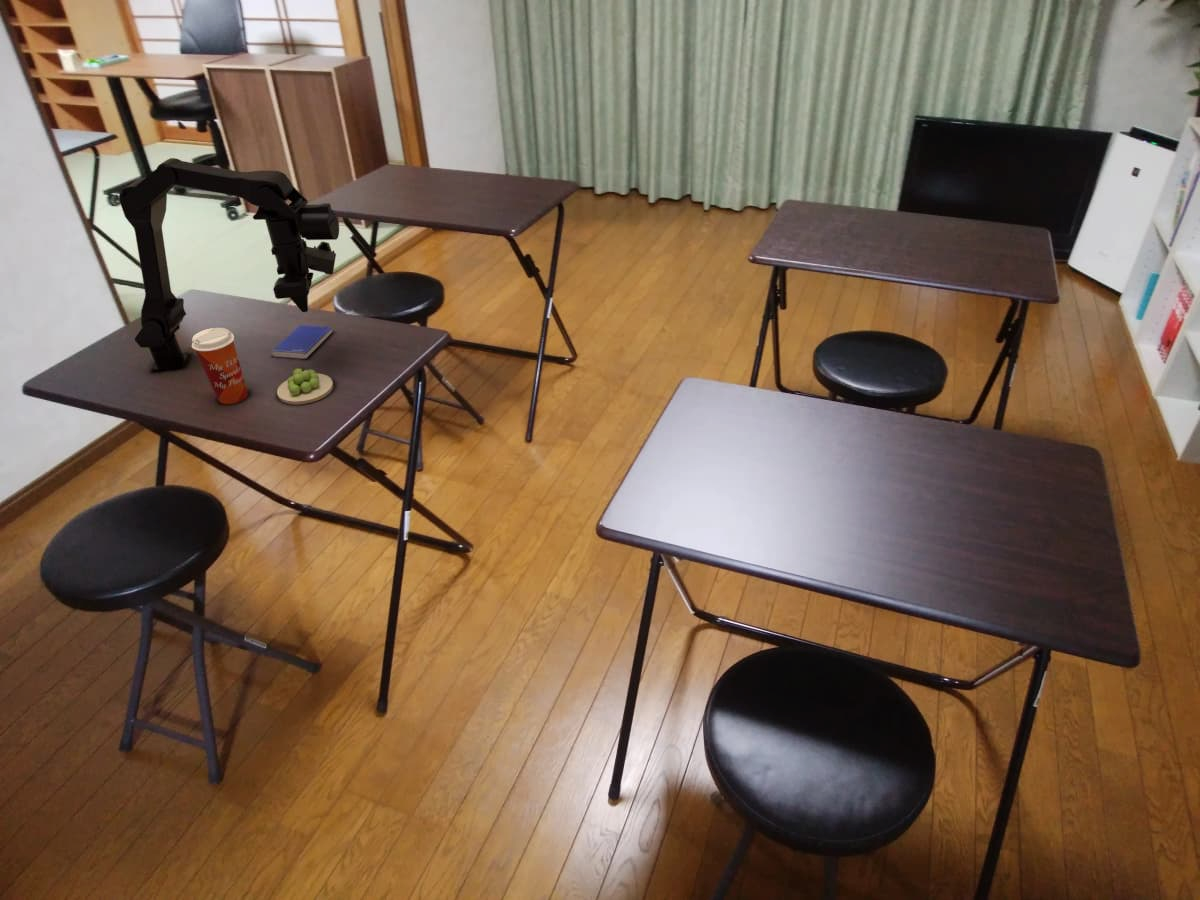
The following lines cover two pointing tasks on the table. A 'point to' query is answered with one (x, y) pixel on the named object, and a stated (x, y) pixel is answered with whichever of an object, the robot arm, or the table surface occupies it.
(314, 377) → the green grapes
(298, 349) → the blue book
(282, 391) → the grape saucer
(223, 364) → the paper cup
